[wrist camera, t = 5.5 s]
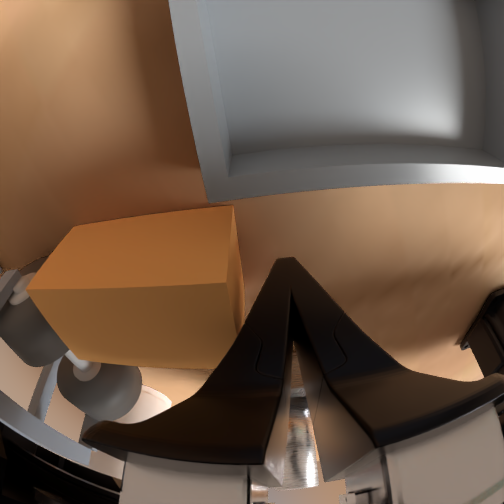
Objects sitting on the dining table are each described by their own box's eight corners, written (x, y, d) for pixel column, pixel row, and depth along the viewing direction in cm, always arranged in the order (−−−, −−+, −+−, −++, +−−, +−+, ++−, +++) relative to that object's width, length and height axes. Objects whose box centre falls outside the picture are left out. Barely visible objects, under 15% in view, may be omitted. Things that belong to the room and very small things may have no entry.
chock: (233, 205, 10) (226, 282, 6) (244, 288, 12) (244, 367, 9) (74, 226, 10) (25, 289, 7) (106, 294, 12) (78, 359, 9)
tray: (471, -11, 3) (510, -14, 1) (481, 160, 8) (518, 184, 6) (180, -45, 4) (159, -76, 2) (218, 170, 9) (208, 203, 7)
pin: (305, 364, 16) (320, 484, 9) (305, 380, 17) (317, 486, 11) (268, 369, 16) (273, 489, 10) (271, 384, 18) (276, 490, 11)
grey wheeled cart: (74, 234, 10) (-34, 439, 2) (154, 363, 16) (130, 503, 8) (-12, 257, 11) (-84, 374, 3) (60, 355, 17) (27, 458, 9)
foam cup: (73, 377, 19) (43, 496, 8) (120, 359, 16) (87, 532, 5) (148, 418, 24) (135, 522, 13) (211, 408, 21) (205, 543, 10)
